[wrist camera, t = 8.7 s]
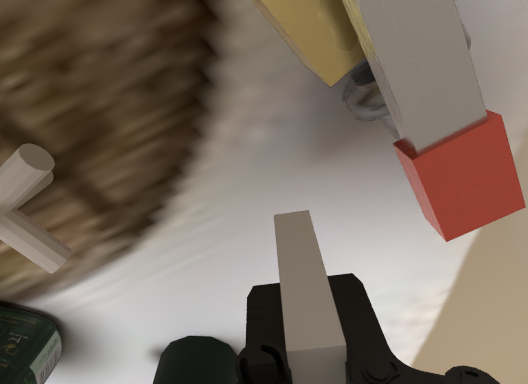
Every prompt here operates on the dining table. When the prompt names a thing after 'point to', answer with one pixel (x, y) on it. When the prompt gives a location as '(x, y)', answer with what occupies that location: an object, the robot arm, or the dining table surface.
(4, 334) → the coffee jar
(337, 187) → the dining table surface
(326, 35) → the pipe
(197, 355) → the wine bottle
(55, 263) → the pipe connector
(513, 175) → the lever
